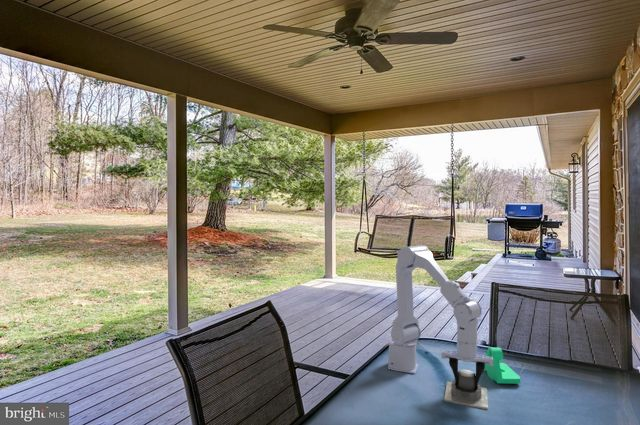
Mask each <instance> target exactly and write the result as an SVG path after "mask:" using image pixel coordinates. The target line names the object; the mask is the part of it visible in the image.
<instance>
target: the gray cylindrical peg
mask: <svg viewBox="0 0 640 425" xmlns="http://www.w3.org/2000/svg"><path fill="white" fill-rule="evenodd" d="M475 376H476V372H474V371H472V370H469V369H459V370H458V388H460V389H462V390H466V391H475Z"/></svg>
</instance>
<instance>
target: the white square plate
mask: <svg viewBox="0 0 640 425" xmlns="http://www.w3.org/2000/svg"><path fill="white" fill-rule="evenodd" d="M488 400H489V399H488V388H487V387H482V386H481V385H480V383H478V386H477V388H476V387H475V391H466V390H462V389H460V388H458V384H456V382H455V379H454V380H452V381H446V384H445V393H444V398H443V401H444V402H447V403H451V404H457V405H462V406H467V407H472V408H477V409H478V408H479V409H481V410H482V409H483V410H489V401H488Z"/></svg>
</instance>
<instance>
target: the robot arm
mask: <svg viewBox="0 0 640 425" xmlns="http://www.w3.org/2000/svg"><path fill="white" fill-rule="evenodd" d="M396 253H397V260H396V263H395V264H396V265H395V275H396V276H395V277H396V302H397V316H396V317H395V318H394V320H393V321H392V328H391V330H390V337H391V339H392V340H391V341H389V346H388V367H387V369H388V370H390V369H391V371H397V372H402V373H409V374H413V375H415V374H417V370H418V367H419V363H417V343H418V340H419V339H420V338H421V335H422V330H421V328H420V324H419V319H418V318H417V317H416V316H414V315H415V314H414V296H413V295H414V294H413V292H414V291H413V271H414V270H415V269H416V268H418V269H423V270H425V271H426V273H427V274H429V275H430V277H431V278H432V279H433V280H434V281H435V282H436V283H437V285H438V286H440V289H439V290H440V293H441V295H442V296H443V297H444V299H445V300H446V301H447V302H448V304H449V305H450V306H451V307H452V309H453V310H452V311H453V315H454V318H455V320H456V327H457V329H456V330H457V332H456V350H443V349H442V350H441V359H448V360H449V361H448V364H449V366H450V368H451V370H452V373H453V376H454V380H455V382H456V384H458V371H459V361H462V362H464V363H475V387H476V388H477V386H478V384H479V381H480V378H481V376H482V375H483V372H484V371H485V364H489V365H490V366H493V357H488V356H486V355H484V354H481V353H478V322H479V321H478V320H479V319H478V318H480V317H481V316H482V306H481V305H480V303H479V302H478V301H477V300H476V299H473V298H471V297H470V296H468V295H467V293H466V292H465V291H464V290H463V289H462V287H461V284H460V283H459V282H456V281H455V280H450V279H449V277H447V275H446V274H445V272H444V271H443V270H442V268H441V267H440V266H439V264H438V262H437V261H436V260H435V259H434V255H433V252H432V251H431V250H430V249H429V248H428V246H426V245H424V244H420V245H413V246H403V247H402V248H400V249H399V250H398V251H397V252H396Z"/></svg>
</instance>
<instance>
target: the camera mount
mask: <svg viewBox="0 0 640 425" xmlns="http://www.w3.org/2000/svg"><path fill="white" fill-rule="evenodd" d="M485 356H488V357H493V366H490V365H489V364H485V369H484V371H486V374H487V376H488V377H489V379H490V380H491V381H494V382H496V383H497V384H518V385H519V384H521V380H522V379H521V376H520V375H518V373H516V372H515V371H514V369H512V368H511V367H509V365H508V364H506V363H504V362H503V360H504V353H503V350H502V348H501V347H491V346H490V347H488V348H487V351H486V354H485Z"/></svg>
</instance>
